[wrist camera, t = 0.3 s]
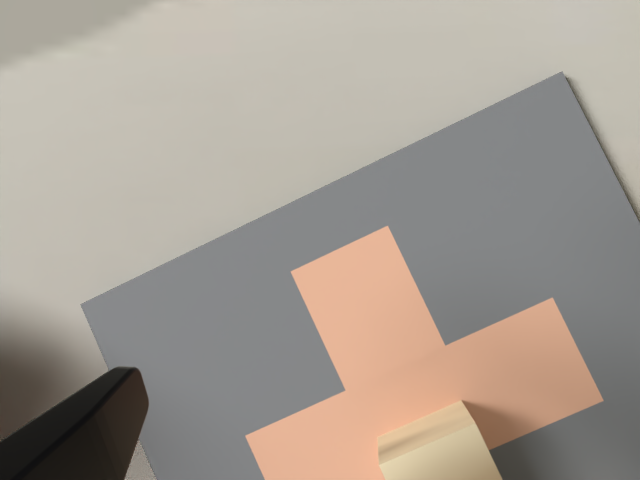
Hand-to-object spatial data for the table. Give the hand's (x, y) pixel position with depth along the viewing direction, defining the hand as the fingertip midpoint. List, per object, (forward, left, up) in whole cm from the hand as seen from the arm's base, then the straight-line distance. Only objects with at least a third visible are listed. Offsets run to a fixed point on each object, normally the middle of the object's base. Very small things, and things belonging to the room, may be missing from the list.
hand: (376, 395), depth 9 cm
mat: (-6, 0, -14) cm, 15 cm away
